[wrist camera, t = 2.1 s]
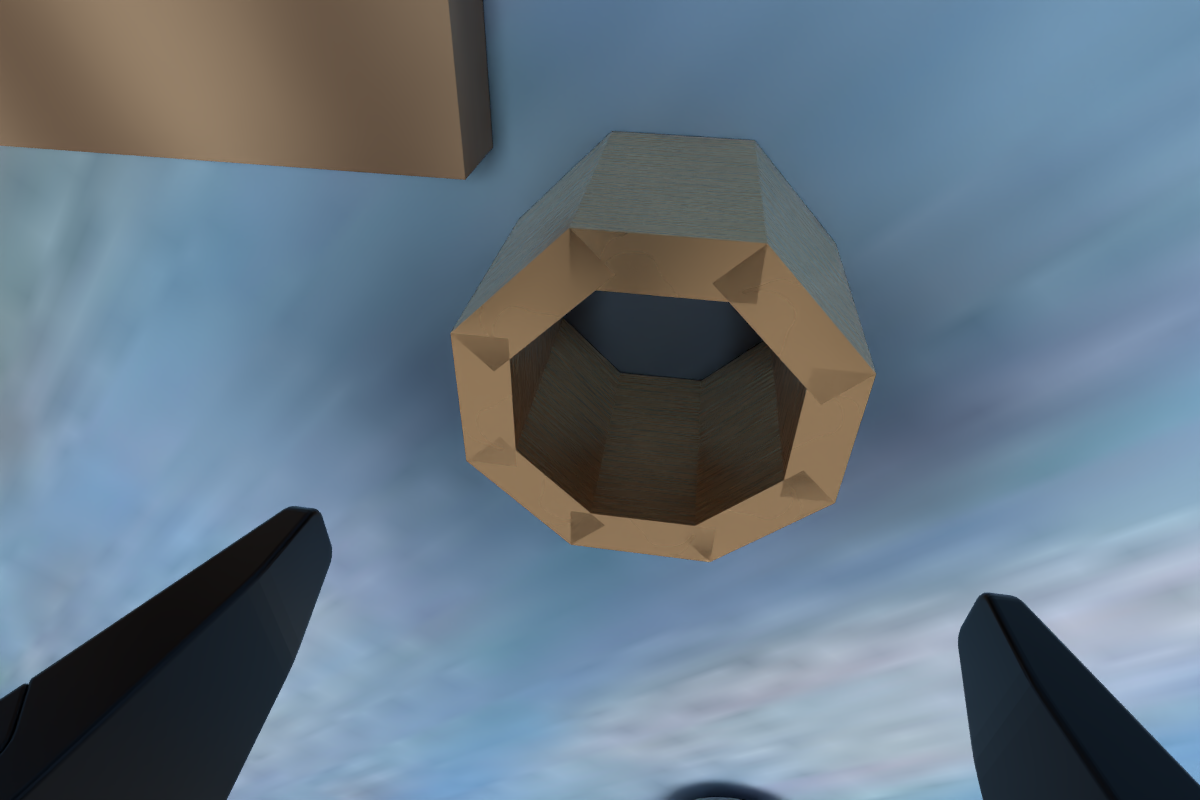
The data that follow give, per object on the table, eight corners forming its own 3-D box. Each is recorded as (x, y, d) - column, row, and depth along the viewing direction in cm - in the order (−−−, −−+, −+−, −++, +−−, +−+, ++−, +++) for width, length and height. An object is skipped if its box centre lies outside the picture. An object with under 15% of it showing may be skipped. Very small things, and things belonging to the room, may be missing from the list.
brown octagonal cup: (859, 146, 14) (913, 255, 10) (792, 421, 18) (811, 575, 14) (514, 124, 14) (435, 217, 11) (527, 394, 19) (475, 532, 15)
